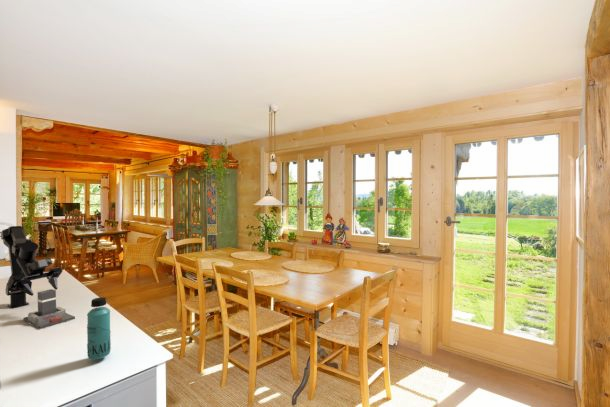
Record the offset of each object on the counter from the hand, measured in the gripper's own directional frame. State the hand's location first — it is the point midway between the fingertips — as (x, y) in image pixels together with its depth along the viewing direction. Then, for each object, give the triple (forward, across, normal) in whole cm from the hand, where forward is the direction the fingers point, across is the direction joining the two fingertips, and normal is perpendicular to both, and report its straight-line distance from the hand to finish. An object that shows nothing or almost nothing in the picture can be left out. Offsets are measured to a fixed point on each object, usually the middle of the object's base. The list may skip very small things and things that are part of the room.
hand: (45, 292), depth 136 cm
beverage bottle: (+48, -16, -32) cm, 60 cm away
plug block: (+8, 0, +7) cm, 11 cm away
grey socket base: (+10, 0, +6) cm, 12 cm away
